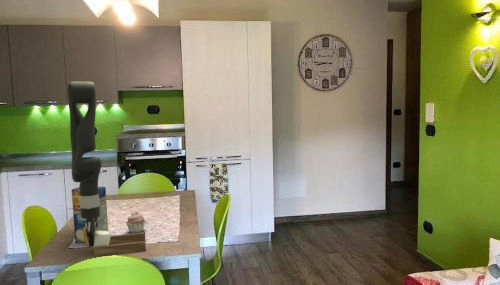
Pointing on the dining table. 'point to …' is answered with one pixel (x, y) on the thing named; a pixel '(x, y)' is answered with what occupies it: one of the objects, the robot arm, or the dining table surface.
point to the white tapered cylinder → (101, 238)
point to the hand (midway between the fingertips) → (92, 245)
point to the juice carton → (80, 222)
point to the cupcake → (135, 222)
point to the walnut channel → (122, 244)
